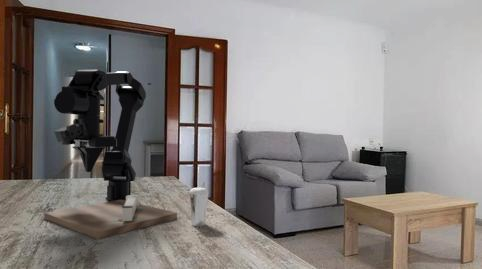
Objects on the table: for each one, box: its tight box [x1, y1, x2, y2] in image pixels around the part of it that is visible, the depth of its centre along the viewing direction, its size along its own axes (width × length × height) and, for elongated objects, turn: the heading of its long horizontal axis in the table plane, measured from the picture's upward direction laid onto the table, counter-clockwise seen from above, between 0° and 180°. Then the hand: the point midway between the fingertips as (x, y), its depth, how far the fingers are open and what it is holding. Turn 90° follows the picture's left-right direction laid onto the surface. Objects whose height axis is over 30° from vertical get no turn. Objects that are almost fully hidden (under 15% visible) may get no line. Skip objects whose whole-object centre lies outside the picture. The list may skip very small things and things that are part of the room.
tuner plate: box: [43, 200, 178, 240], centre depth 88 cm, size 22×25×2 cm
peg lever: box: [122, 194, 141, 221], centre depth 87 cm, size 16×4×3 cm, turn 12°
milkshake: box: [188, 181, 209, 227], centre depth 84 cm, size 5×5×10 cm
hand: (88, 171), depth 95 cm, fingers closed
